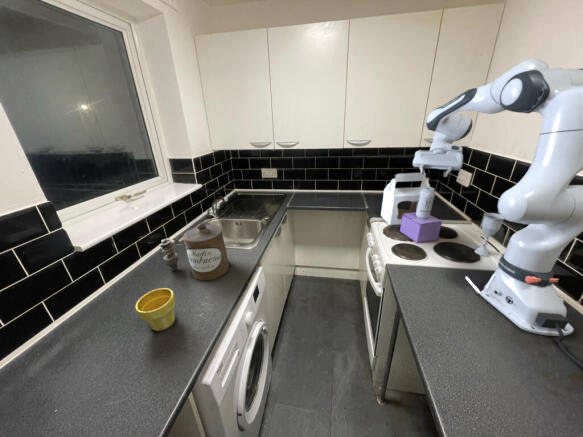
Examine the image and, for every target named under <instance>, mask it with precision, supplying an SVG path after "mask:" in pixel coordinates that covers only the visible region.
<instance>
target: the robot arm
mask: <svg viewBox="0 0 583 437" xmlns="http://www.w3.org/2000/svg"><path fill="white" fill-rule="evenodd" d="M463 111H467V112H476V113H482V114H486V115H487V114H488V115H494V114H499V113H502V112H505V111H507V112H508V111H509V112H513V113H521V114H522V113H523V114H526V115H527V114H531V113H538V114H540V115H541V118H542V122H541V126H540V130H539V135H538V139H537V144H536V147H535V151H534V156H533V159H532V162H531V164H530V166H529V168H528V170H527V172H526V173H525V174H524V176H523V177H521V179H520V180H519V181H518V182H517V183H516V184H515V185H513V186H512V187H511V188H509V189H507V190H505V191H504V192H503V193H502V194H501V195H500V197H499V199H498V200H497V201H498V202H497V210H498V214H500V215H501V216H502V217H503V218H504V220H505V221H507V222H512V223H517V224H522V225H527V226H526V227H524V228H522V229H520V230H517V231H516V232H514V233H513V234H512V235H511V236H510V238H509V241H508V243H507V246H506V248H505V251H504V253H502V254H501V256H500V258H499V259H498V264H497V265H498V267H497V268H496V270H495V271H494V272H493V274H492V275H491V277H490V278H489V280H488V281H487V283H485V285H484V286H483V289H482V290H481V291H480V290H479V288H478V287H477V286H476V285H475V284H474V283H473V282H472V281H471V279H470V278H469V277H468V276H465V279H466V281H468V283H469V284H470V285H471V286H472V287H473V289H474V290H475V291H476V292H477V293H478V294H479V295H480V297H482V298H483V299H484V300H486V301H487V302H488V303H489V304H490V305H491V306H492V307H494V308H495V309H497V310H498V312H500V313H501V314H503V315H504V316H505V317H506V318H507V319H508V320H510V321H511V322H512V323H513V324H515V325H516V326H517V327H518V328H520V329H521V330H523V331H525V332H528V333H532V334H536V335H542V336H549V337H550V336H552V337H557V339H556V344H557V346H558V347H559V348H560V350H561V351H563V352H564V353H565V354H566V355H567V356H568V357H569V358H570V359H571V360H572V361H573V362H574V363H576V364H577V365H578V366H579V367H580V368H582V369H583V362H582V361H581V360H579V359H578V358H576V357H575V356H573V354H572V353H570V352H569V351H568V350H567V349H566V348H565V346H564V345H563V340H564V339H565V337H566V336H570V335H571V334H573V332H574V330H575V329H574V327H573V326H572V325H571V324H570V323H569V322H570V320H569V319H568V318H567V313H568V310H567V307H566V306H565V304H564V303H565V302H564V299H563V298H562V297H561V296H560V295H559V293H558V292H557V290H556V289H555V286H554V285H553V283H558V282H559V280H560V279H559V278H554V269H553V268H554V267H555V265H556V263H557V262H558V259H559V257H560V256H561V254H562V252H563V250H564V249H565V248H566V247H567V246H568V245H569V244H570V243H571V242H572V241H573V240H574V239H576V238H577V237H578V236H579V235H580V234H582V233H583V184H570V183H571V182H572V180H573V179H574V178H575V177H576V176H577V175H578V174H580V173H581V172H582V171H583V68H582V67H581V68H563V67H552V68H550V66H549V64H548V63H547V62H546V61H545V60H543V59H540V58H529V59H526V60H524V61H521V62H520V63H518V64H516V65H515V66H513V67H511V68H510V69H508V70H507V71H505V72H504V73H502V74H501V75H499V76H498V77H497V78H495V79H493V81H491V82H489V83H487V84H484V85H481V86H478V87H473V88H469V89H468V90H465V91H463V92H462V93H461V94H459V95H457V96H456V97H454V98H453V99H451V100H449V101H448V102H446V103H445V104H443V105H441V106H438V107H436V108H434V109H433V110H431V112H430V113H429V114H428V116H427V118H426V120H425V125H426V128H427V130H428V131H432V132H434V134H433V138H432V142H431V144H430V148H429V149H419V150H417V151H415V153H414V158H413V160H412V166H413V167H414V168H419V170H420V171H419V173H420V174H421V175H424V173H426V172H425V169H435V170H446V171H443V175H442V177H444V178H447V177H448V175H449V174H450V173H452V171H460V170H461V169H462V167H463V163H464V154H463V147H462V146H459V145H456V144H454V143H455V142H458V141H460V140H462V139H465V138H466V137H467V136H468V135H469V134H470V132H471V131H472V128H473V119H472V117H470V116H468V115H465V114H462V113H460V112H463Z"/></svg>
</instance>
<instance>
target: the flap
mask: <svg viewBox="0 0 583 437" xmlns="http://www.w3.org/2000/svg"><path fill="white" fill-rule="evenodd" d="M412 220H413V221H415V222H417V223H419V224H428V223H435V222H442V223H443V220H442V219H439V218H437V217H435V216H433V215H432V216H429V217H428V218H427V219H420V218H414V219H412Z"/></svg>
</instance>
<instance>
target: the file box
mask: <svg viewBox="0 0 583 437" xmlns="http://www.w3.org/2000/svg"><path fill="white" fill-rule="evenodd" d="M429 216H433V215H431V214H430V215H429ZM414 218H418V217H417V216H416V212H413V213H405V214H403V217H402V222H401V224H400V229H399V232H401V233H402V234H403V235H404V236H406V237H408V238H409V239H410V240H412V241H414V242H415V243H416V244H417V243H424V242H430V241H437V240H438V239H439V236H440V232H441V229H442V228H441V227H442V225H443V221H442V222H435V223H428V224H419V223H417V222H415V221H413V220H412V219H414Z"/></svg>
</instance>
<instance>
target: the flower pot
mask: <svg viewBox="0 0 583 437" xmlns="http://www.w3.org/2000/svg"><path fill="white" fill-rule="evenodd" d="M176 302H177V300H176V296H175V293H174V291H173V290H172V289H170V288H169V287H159V288H155V289H153V290H150V291H148V292H147V293H145V294H144V295H142V296H141V297H140V298H139V299H138V300H137V301H136V304H135V305H134V306H135V308H134V309H135V311H136V313H137V315H138V318H140V319H141V320H143V321H145V323H147V325H148V326H149V327H150V328H151V329H152V330H154V331H156V332H161V331H164V330H167V329H168V328H170V327H171V326H172V325H173V324H174V322H175V320H176V314H175V313H176V312H175V305H176Z"/></svg>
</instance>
